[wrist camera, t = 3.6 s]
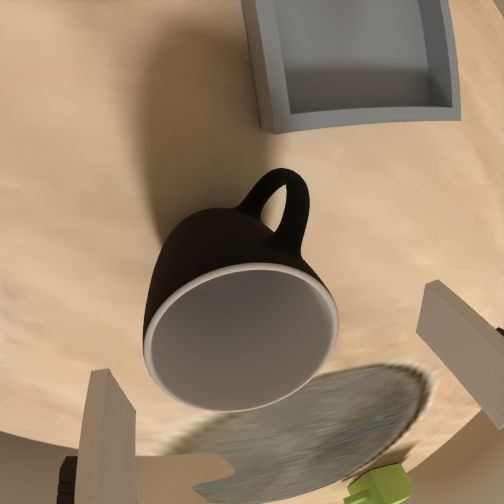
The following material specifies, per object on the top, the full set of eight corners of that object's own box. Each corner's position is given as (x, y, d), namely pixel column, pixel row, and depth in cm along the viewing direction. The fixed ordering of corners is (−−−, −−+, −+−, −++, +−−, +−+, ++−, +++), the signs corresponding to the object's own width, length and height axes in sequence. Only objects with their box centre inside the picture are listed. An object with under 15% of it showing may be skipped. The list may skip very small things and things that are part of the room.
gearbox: (325, 492, 53) (338, 526, 45) (352, 472, 50) (369, 510, 42) (381, 480, 60) (394, 508, 52) (407, 460, 56) (423, 490, 48)
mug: (242, 318, 26) (279, 420, 17) (133, 284, 22) (121, 394, 13) (319, 183, 22) (410, 242, 13) (202, 124, 19) (230, 143, 10)
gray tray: (261, 129, 19) (275, 134, 17) (224, -89, 12) (232, -110, 9) (435, 115, 22) (461, 120, 19) (404, -63, 14) (426, -73, 11)
